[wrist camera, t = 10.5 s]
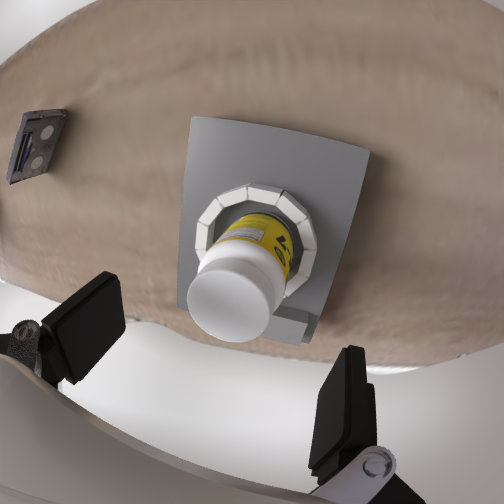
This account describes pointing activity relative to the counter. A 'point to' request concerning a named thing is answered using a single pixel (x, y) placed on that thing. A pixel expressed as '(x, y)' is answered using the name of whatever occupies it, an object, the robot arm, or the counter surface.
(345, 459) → the robot arm
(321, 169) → the grey ring holder base
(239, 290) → the supplement bottle
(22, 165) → the mini dv tape
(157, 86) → the counter surface
